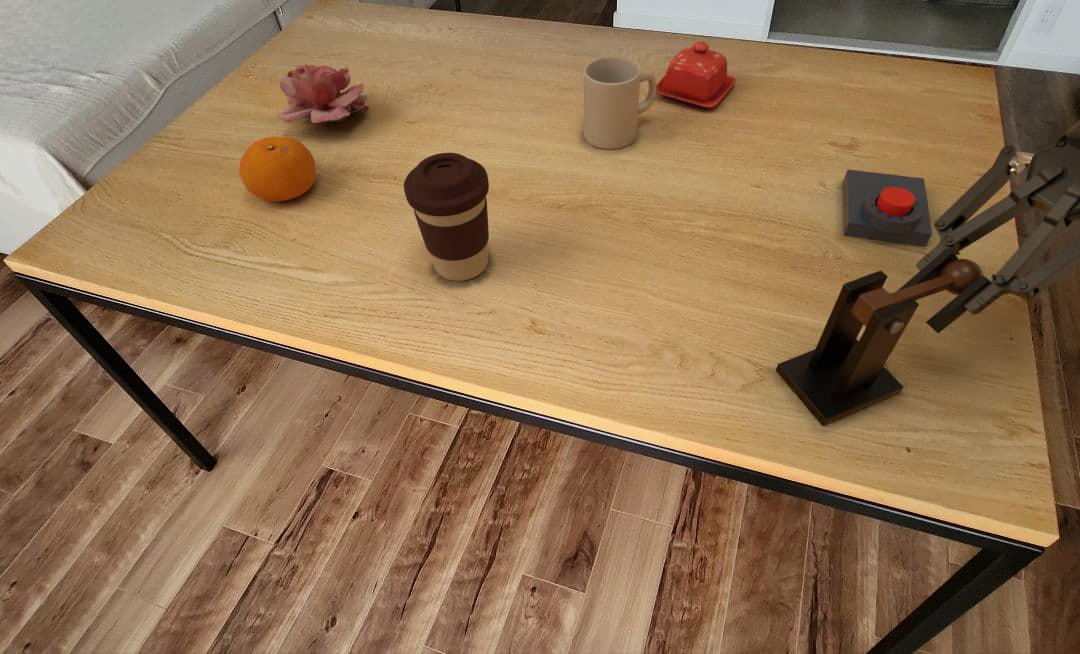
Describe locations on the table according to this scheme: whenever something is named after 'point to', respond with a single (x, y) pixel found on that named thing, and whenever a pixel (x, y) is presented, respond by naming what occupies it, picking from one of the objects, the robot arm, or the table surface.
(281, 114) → the flower
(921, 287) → the lever
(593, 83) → the mug
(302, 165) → the fruit
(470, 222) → the coffee cup
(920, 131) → the table surface
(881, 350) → the bracket
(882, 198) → the button
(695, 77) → the butter dish
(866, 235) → the button block
